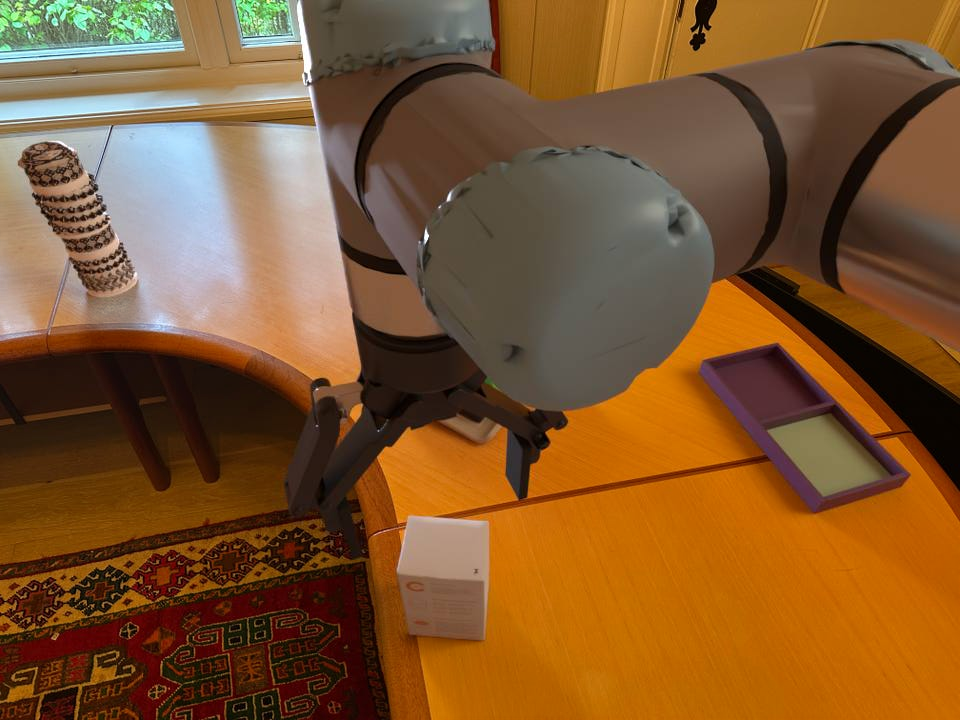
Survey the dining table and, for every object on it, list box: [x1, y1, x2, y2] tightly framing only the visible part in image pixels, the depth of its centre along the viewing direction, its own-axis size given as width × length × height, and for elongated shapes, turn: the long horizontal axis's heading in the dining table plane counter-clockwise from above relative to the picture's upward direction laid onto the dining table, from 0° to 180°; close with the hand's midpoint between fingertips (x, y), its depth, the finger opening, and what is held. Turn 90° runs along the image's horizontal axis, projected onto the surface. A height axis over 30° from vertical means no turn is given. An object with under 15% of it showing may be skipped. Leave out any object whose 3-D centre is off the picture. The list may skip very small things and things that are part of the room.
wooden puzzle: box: [437, 377, 503, 445], centre depth 88 cm, size 18×19×4 cm
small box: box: [396, 515, 490, 642], centre depth 61 cm, size 8×6×13 cm
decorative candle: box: [17, 140, 139, 298], centre depth 99 cm, size 9×9×25 cm
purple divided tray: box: [698, 342, 912, 514], centre depth 83 cm, size 13×26×3 cm, turn 17°
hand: (438, 514), depth 48 cm, fingers open, 13 cm apart
